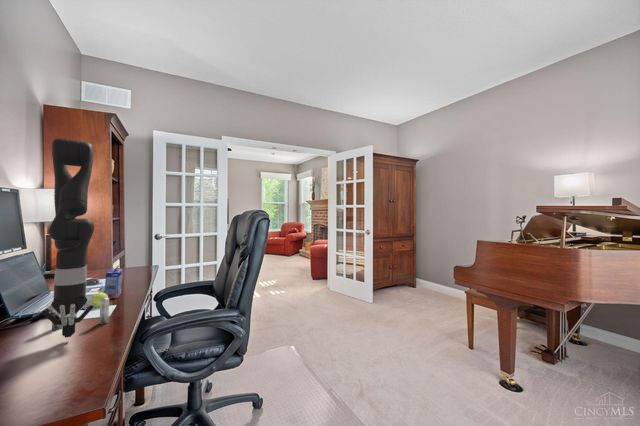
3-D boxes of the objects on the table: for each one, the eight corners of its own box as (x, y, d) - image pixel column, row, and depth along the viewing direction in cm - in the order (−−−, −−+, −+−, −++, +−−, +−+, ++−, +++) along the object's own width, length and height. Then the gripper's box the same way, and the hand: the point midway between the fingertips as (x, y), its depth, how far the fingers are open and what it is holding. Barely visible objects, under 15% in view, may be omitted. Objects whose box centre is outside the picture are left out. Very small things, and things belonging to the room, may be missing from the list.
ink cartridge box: (118, 298, 130) (119, 267, 130) (103, 299, 128) (105, 268, 128) (122, 292, 139) (123, 264, 139) (108, 293, 136) (109, 264, 136)
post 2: (100, 322, 102) (101, 297, 102) (109, 321, 103) (110, 297, 103) (98, 324, 99) (99, 299, 99) (107, 323, 101) (108, 299, 101)
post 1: (53, 327, 96) (54, 302, 96) (63, 326, 97) (64, 301, 97) (50, 330, 93) (51, 304, 93) (60, 329, 95) (61, 303, 95)
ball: (92, 303, 120) (92, 290, 118) (109, 301, 122) (109, 289, 121) (88, 310, 115) (88, 297, 113) (106, 308, 117) (106, 296, 116)
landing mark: (75, 309, 114) (75, 309, 114) (116, 305, 120) (116, 304, 120) (62, 321, 101) (62, 321, 101) (109, 316, 108) (109, 315, 108)
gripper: (99, 277, 93) (97, 328, 93) (47, 280, 87) (45, 335, 87) (93, 282, 87) (91, 337, 86) (36, 286, 80) (34, 345, 80)
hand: (68, 336), depth 87 cm, fingers closed
